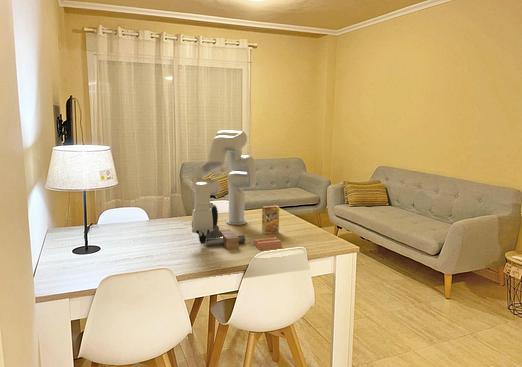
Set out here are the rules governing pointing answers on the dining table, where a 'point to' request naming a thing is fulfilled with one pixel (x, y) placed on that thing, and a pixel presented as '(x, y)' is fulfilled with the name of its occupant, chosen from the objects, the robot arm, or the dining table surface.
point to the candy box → (270, 219)
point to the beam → (229, 239)
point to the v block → (267, 243)
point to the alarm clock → (215, 220)
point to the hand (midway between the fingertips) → (202, 242)
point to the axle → (221, 241)
